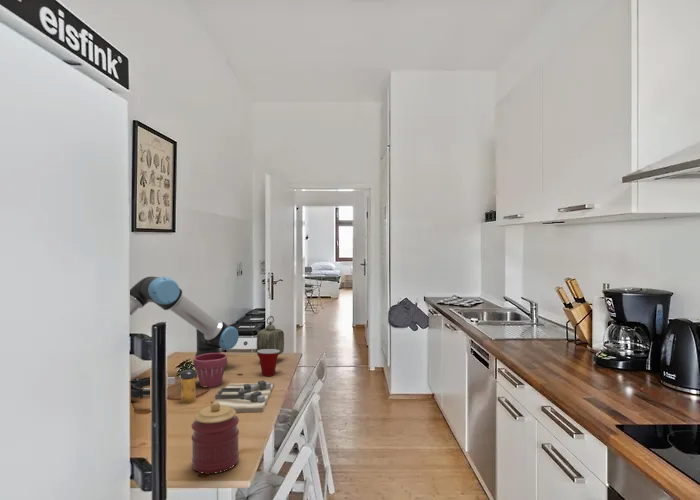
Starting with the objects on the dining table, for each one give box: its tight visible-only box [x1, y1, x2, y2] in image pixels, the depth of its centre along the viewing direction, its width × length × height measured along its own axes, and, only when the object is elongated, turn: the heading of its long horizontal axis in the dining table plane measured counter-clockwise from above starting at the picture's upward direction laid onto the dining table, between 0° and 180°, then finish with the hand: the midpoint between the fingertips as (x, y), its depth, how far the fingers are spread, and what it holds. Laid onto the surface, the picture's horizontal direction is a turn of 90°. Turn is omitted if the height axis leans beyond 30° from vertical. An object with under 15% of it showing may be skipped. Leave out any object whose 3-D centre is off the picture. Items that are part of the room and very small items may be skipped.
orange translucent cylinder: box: [180, 369, 197, 405], centre depth 172 cm, size 6×6×12 cm
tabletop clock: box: [256, 315, 285, 358], centre depth 230 cm, size 14×9×25 cm, turn 160°
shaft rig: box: [214, 379, 275, 414], centre depth 175 cm, size 30×20×4 cm
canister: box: [191, 401, 240, 473], centre depth 122 cm, size 13×13×18 cm
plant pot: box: [193, 352, 228, 389], centre depth 193 cm, size 14×14×13 cm
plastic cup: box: [256, 349, 280, 377], centre depth 208 cm, size 11×11×12 cm
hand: (168, 385), depth 171 cm, fingers open, 13 cm apart
